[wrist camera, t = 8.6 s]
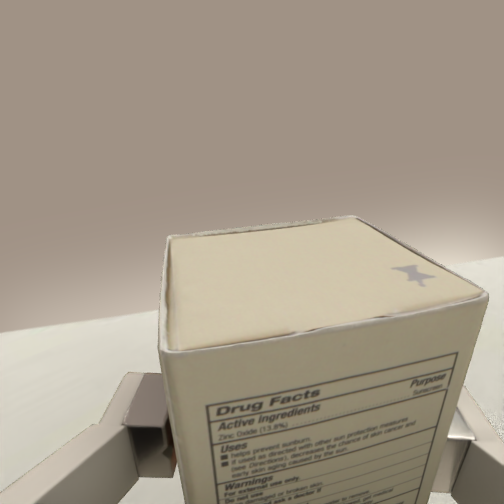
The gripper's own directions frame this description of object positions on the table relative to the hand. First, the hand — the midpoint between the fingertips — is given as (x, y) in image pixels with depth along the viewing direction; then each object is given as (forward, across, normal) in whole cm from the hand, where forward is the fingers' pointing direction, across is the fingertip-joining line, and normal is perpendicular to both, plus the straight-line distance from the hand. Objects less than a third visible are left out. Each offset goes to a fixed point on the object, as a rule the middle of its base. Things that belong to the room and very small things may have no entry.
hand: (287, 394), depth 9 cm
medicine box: (-1, 0, +6) cm, 6 cm away
